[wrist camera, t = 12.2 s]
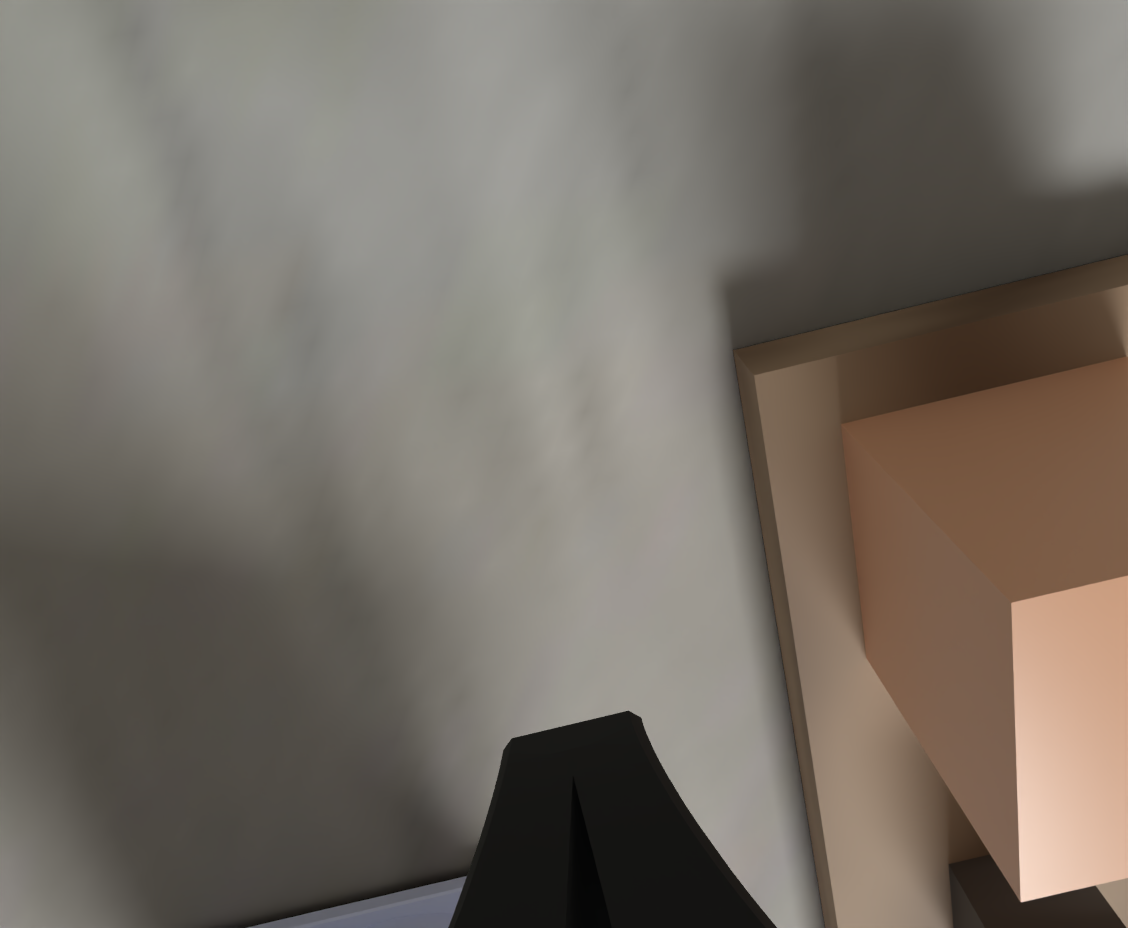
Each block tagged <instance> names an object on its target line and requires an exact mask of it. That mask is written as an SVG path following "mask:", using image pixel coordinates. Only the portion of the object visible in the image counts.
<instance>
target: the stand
mask: <svg viewBox="0 0 1128 928" xmlns="http://www.w3.org/2000/svg"><path fill="white" fill-rule="evenodd" d="M733 352H734V359H735V365H736V371H737V378H738V384H739V390H740V396H741V403H742V409H743V415H744V421H745V428H746V434H747V440H748V447H749V453H750V459H751V465H752V472H753V478H754V484H755V491H756V497H757V503H758V509H759V516H760V522H761V528H762V534H763V541H764V547H765V553H766V560H767V566H768V572H769V578H770V585H771V591H772V597H773V603H774V610H775V616H776V622H777V629H778V635H779V641H780V647H781V654H782V660H783V666H784V672H785V679H786V685H787V691H788V698H789V704H790V710H791V716H792V723H793V729H794V735H795V742H796V748H797V754H798V760H799V767H800V773H801V779H802V785H803V792H804V798H805V804H806V811H807V817H808V823H809V829H810V836H811V842H812V848H813V854H814V861H815V867H816V873H817V880H818V886H819V892H820V898H821V905H822V911H823V917H824V923H825V928H1128V878H1125V879H1121V880H1117V881H1112V882H1108V883H1104V884H1099V885H1095V886H1090V887H1086V888H1082V889H1077V890H1073V891H1069V892H1064V893H1060V894H1056V895H1051V896H1047V897H1042V898H1038V899H1034V900H1029V901H1025V902H1020V900H1019V899H1018V897H1017V896H1016V894H1015V893H1014V891H1013V889H1012V888H1011V886H1010V885H1009V883H1008V882H1007V880H1006V878H1005V877H1004V875H1003V874H1002V872H1001V870H1000V869H999V867H998V866H997V864H996V863H995V861H994V859H993V858H992V856H991V855H990V853H989V851H988V850H987V848H986V847H985V845H984V844H983V842H982V840H981V839H980V837H979V836H978V834H977V832H976V831H975V829H974V828H973V826H972V825H971V823H970V821H969V820H968V818H967V817H966V815H965V814H964V812H963V810H962V809H961V807H960V806H959V804H958V802H957V801H956V799H955V798H954V796H953V795H952V793H951V791H950V790H949V788H948V787H947V785H946V783H945V782H944V780H943V779H942V777H941V776H940V774H939V772H938V771H937V769H936V768H935V766H934V764H933V763H932V761H931V760H930V758H929V757H928V755H927V753H926V752H925V750H924V749H923V747H922V745H921V744H920V742H919V741H918V739H917V738H916V736H915V734H914V733H913V731H912V730H911V728H910V727H909V725H908V723H907V722H906V720H905V719H904V717H903V715H902V714H901V712H900V711H899V709H898V708H897V706H896V704H895V703H894V701H893V700H892V698H891V696H890V695H889V693H888V692H887V690H886V689H885V687H884V685H883V684H882V682H881V681H880V679H879V677H878V676H877V674H876V673H875V671H874V670H873V668H872V666H871V665H870V663H869V662H868V660H867V659H866V651H865V642H864V632H863V623H862V614H861V605H860V596H859V587H858V577H857V568H856V559H855V550H854V541H853V532H852V522H851V513H850V504H849V495H848V486H847V477H846V467H845V458H844V449H843V440H842V431H841V424H844V423H848V422H852V421H856V420H860V419H865V418H869V417H873V416H877V415H882V414H886V413H890V412H894V411H898V410H903V409H907V408H911V407H915V406H920V405H924V404H928V403H932V402H936V401H941V400H945V399H949V398H953V397H958V396H962V395H966V394H970V393H974V392H979V391H983V390H987V389H991V388H996V387H1000V386H1004V385H1008V384H1012V383H1017V382H1021V381H1025V380H1029V379H1034V378H1038V377H1042V376H1046V375H1050V374H1055V373H1059V372H1063V371H1067V370H1072V369H1076V368H1080V367H1084V366H1088V365H1093V364H1097V363H1101V362H1105V361H1110V360H1114V359H1118V358H1122V357H1128V254H1127V255H1123V256H1119V257H1115V258H1111V259H1107V260H1103V261H1098V262H1094V263H1090V264H1086V265H1082V266H1078V267H1074V268H1070V269H1066V270H1061V271H1057V272H1053V273H1049V274H1045V275H1041V276H1037V277H1033V278H1028V279H1024V280H1020V281H1016V282H1012V283H1008V284H1004V285H1000V286H996V287H991V288H987V289H983V290H979V291H975V292H971V293H967V294H963V295H959V296H954V297H950V298H946V299H942V300H938V301H934V302H930V303H926V304H921V305H917V306H913V307H909V308H905V309H901V310H897V311H893V312H889V313H884V314H880V315H876V316H872V317H868V318H864V319H860V320H856V321H852V322H847V323H843V324H839V325H835V326H831V327H827V328H823V329H819V330H814V331H810V332H806V333H802V334H798V335H794V336H790V337H786V338H782V339H777V340H773V341H769V342H765V343H761V344H757V345H753V346H749V347H745V348H740V349H736V350H733Z"/></svg>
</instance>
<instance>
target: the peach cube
mask: <svg viewBox="0 0 1128 928" xmlns="http://www.w3.org/2000/svg"><path fill="white" fill-rule="evenodd" d="M841 431H842V440H843V449H844V458H845V467H846V477H847V486H848V495H849V504H850V513H851V522H852V532H853V541H854V550H855V559H856V568H857V577H858V587H859V596H860V605H861V614H862V623H863V632H864V642H865V651H866V659H867V660H868V662H869V663H870V665H871V666H872V668H873V670H874V671H875V673H876V674H877V676H878V677H879V679H880V681H881V682H882V684H883V685H884V687H885V689H886V690H887V692H888V693H889V695H890V696H891V698H892V700H893V701H894V703H895V704H896V706H897V708H898V709H899V711H900V712H901V714H902V715H903V717H904V719H905V720H906V722H907V723H908V725H909V727H910V728H911V730H912V731H913V733H914V734H915V736H916V738H917V739H918V741H919V742H920V744H921V745H922V747H923V749H924V750H925V752H926V753H927V755H928V757H929V758H930V760H931V761H932V763H933V764H934V766H935V768H936V769H937V771H938V772H939V774H940V776H941V777H942V779H943V780H944V782H945V783H946V785H947V787H948V788H949V790H950V791H951V793H952V795H953V796H954V798H955V799H956V801H957V802H958V804H959V806H960V807H961V809H962V810H963V812H964V814H965V815H966V817H967V818H968V820H969V821H970V823H971V825H972V826H973V828H974V829H975V831H976V832H977V834H978V836H979V837H980V839H981V840H982V842H983V844H984V845H985V847H986V848H987V850H988V851H989V853H990V855H991V856H992V858H993V859H994V861H995V863H996V864H997V866H998V867H999V869H1000V870H1001V872H1002V874H1003V875H1004V877H1005V878H1006V880H1007V882H1008V883H1009V885H1010V886H1011V888H1012V889H1013V891H1014V893H1015V894H1016V896H1017V897H1018V899H1019V900H1020V902H1025V901H1029V900H1034V899H1038V898H1042V897H1047V896H1051V895H1056V894H1060V893H1064V892H1069V891H1073V890H1077V889H1082V888H1086V887H1090V886H1095V885H1099V884H1104V883H1108V882H1112V881H1117V880H1121V879H1125V878H1128V357H1122V358H1118V359H1114V360H1110V361H1105V362H1101V363H1097V364H1093V365H1088V366H1084V367H1080V368H1076V369H1072V370H1067V371H1063V372H1059V373H1055V374H1050V375H1046V376H1042V377H1038V378H1034V379H1029V380H1025V381H1021V382H1017V383H1012V384H1008V385H1004V386H1000V387H996V388H991V389H987V390H983V391H979V392H974V393H970V394H966V395H962V396H958V397H953V398H949V399H945V400H941V401H936V402H932V403H928V404H924V405H920V406H915V407H911V408H907V409H903V410H898V411H894V412H890V413H886V414H882V415H877V416H873V417H869V418H865V419H860V420H856V421H852V422H848V423H844V424H841Z"/></svg>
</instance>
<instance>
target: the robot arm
mask: <svg viewBox="0 0 1128 928" xmlns="http://www.w3.org/2000/svg"><path fill="white" fill-rule="evenodd" d="M247 928H777V927H776V926H775V925H774V924H773V922H772V921H771V920H770V919H769V918H768V916H767V915H766V914H765V913H764V911H763V910H762V909H761V908H760V907H759V905H758V904H757V903H756V902H755V900H754V899H753V898H752V897H751V895H750V894H749V893H748V892H747V890H746V889H745V888H744V886H743V885H742V884H741V883H740V881H739V880H738V879H737V877H736V876H735V875H734V873H733V872H732V871H731V870H730V868H729V867H728V865H727V864H726V863H725V861H724V860H723V858H722V857H721V856H720V854H719V853H718V851H717V850H716V849H715V847H714V846H713V844H712V843H711V842H710V840H709V839H708V837H707V836H706V835H705V833H704V832H703V830H702V829H701V828H700V826H699V825H698V823H697V822H696V820H695V819H694V817H693V816H692V814H691V813H690V811H689V810H688V808H687V807H686V805H685V804H684V802H683V801H682V799H681V797H680V796H679V794H678V792H677V791H676V789H675V787H674V786H673V784H672V782H671V781H670V779H669V777H668V776H667V774H666V772H665V770H664V769H663V767H662V765H661V763H660V761H659V759H658V758H657V756H656V754H655V752H654V750H653V747H652V745H651V743H650V741H649V738H648V736H647V734H646V731H645V729H644V726H643V723H642V719H641V717H639V716H637V715H635V714H633V713H631V712H630V711H625V712H621V713H617V714H613V715H609V716H604V717H600V718H596V719H592V720H588V721H583V722H579V723H575V724H571V725H566V726H562V727H558V728H554V729H550V730H545V731H541V732H537V733H533V734H529V735H524V736H520V737H516V738H512V739H511V740H510V742H509V743H508V744H507V746H506V747H505V749H504V750H503V755H502V760H501V765H500V769H499V773H498V777H497V781H496V785H495V789H494V793H493V797H492V800H491V804H490V807H489V810H488V814H487V817H486V820H485V824H484V827H483V830H482V833H481V836H480V840H479V843H478V846H477V849H476V852H475V855H474V858H473V861H472V863H471V866H470V869H469V872H468V875H467V876H464V877H460V878H456V879H452V880H447V881H443V882H439V883H435V884H430V885H426V886H422V887H418V888H413V889H409V890H405V891H401V892H396V893H392V894H388V895H384V896H379V897H375V898H371V899H367V900H362V901H358V902H354V903H350V904H345V905H341V906H337V907H333V908H328V909H324V910H320V911H316V912H311V913H307V914H303V915H299V916H294V917H290V918H286V919H282V920H277V921H273V922H269V923H264V924H260V925H256V926H252V927H247Z"/></svg>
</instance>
